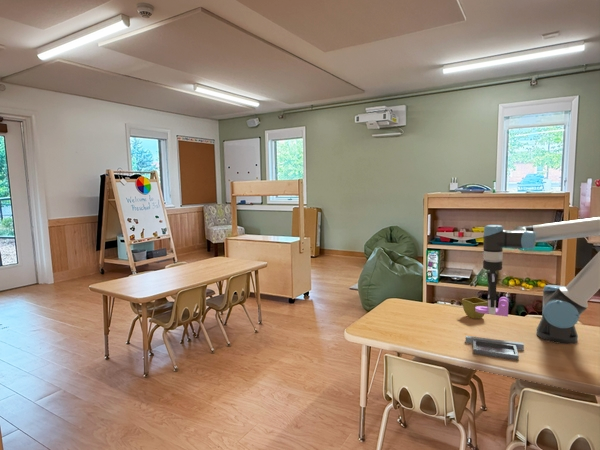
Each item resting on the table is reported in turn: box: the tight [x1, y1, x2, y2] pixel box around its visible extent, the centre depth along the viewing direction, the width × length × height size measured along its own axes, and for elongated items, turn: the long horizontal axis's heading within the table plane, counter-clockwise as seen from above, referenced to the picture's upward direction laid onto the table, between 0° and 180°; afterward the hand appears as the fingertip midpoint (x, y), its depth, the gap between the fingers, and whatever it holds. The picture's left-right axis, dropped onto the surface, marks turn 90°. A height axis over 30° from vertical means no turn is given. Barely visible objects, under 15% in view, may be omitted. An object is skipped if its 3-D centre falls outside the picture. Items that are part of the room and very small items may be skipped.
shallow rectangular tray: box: [472, 340, 520, 362], centre depth 156 cm, size 16×10×2 cm, turn 67°
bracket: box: [475, 296, 510, 317], centre depth 169 cm, size 13×6×7 cm, turn 60°
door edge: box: [465, 335, 525, 351], centre depth 162 cm, size 22×2×2 cm, turn 66°
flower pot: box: [461, 296, 488, 320], centre depth 194 cm, size 9×9×9 cm
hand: (491, 311), depth 170 cm, fingers closed on bracket, 6 cm apart
